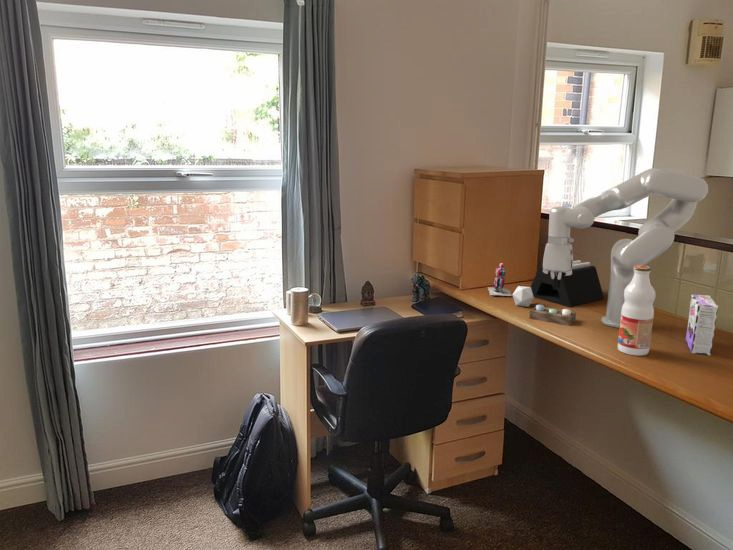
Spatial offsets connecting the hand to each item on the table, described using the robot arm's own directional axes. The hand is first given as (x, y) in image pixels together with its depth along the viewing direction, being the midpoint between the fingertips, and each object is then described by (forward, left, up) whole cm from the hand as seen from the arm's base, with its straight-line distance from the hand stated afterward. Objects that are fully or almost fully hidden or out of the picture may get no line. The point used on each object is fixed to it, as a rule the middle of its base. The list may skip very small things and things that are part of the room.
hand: (556, 288), depth 217 cm
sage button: (0, 0, -13) cm, 13 cm away
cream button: (-4, 0, -12) cm, 13 cm away
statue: (+31, -24, -12) cm, 41 cm away
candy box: (-48, +3, -12) cm, 50 cm away
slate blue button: (+5, 0, -12) cm, 13 cm away
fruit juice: (-32, +19, -12) cm, 39 cm away
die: (+16, -12, -12) cm, 24 cm away
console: (0, 0, -12) cm, 12 cm away
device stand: (+6, -35, -12) cm, 37 cm away
